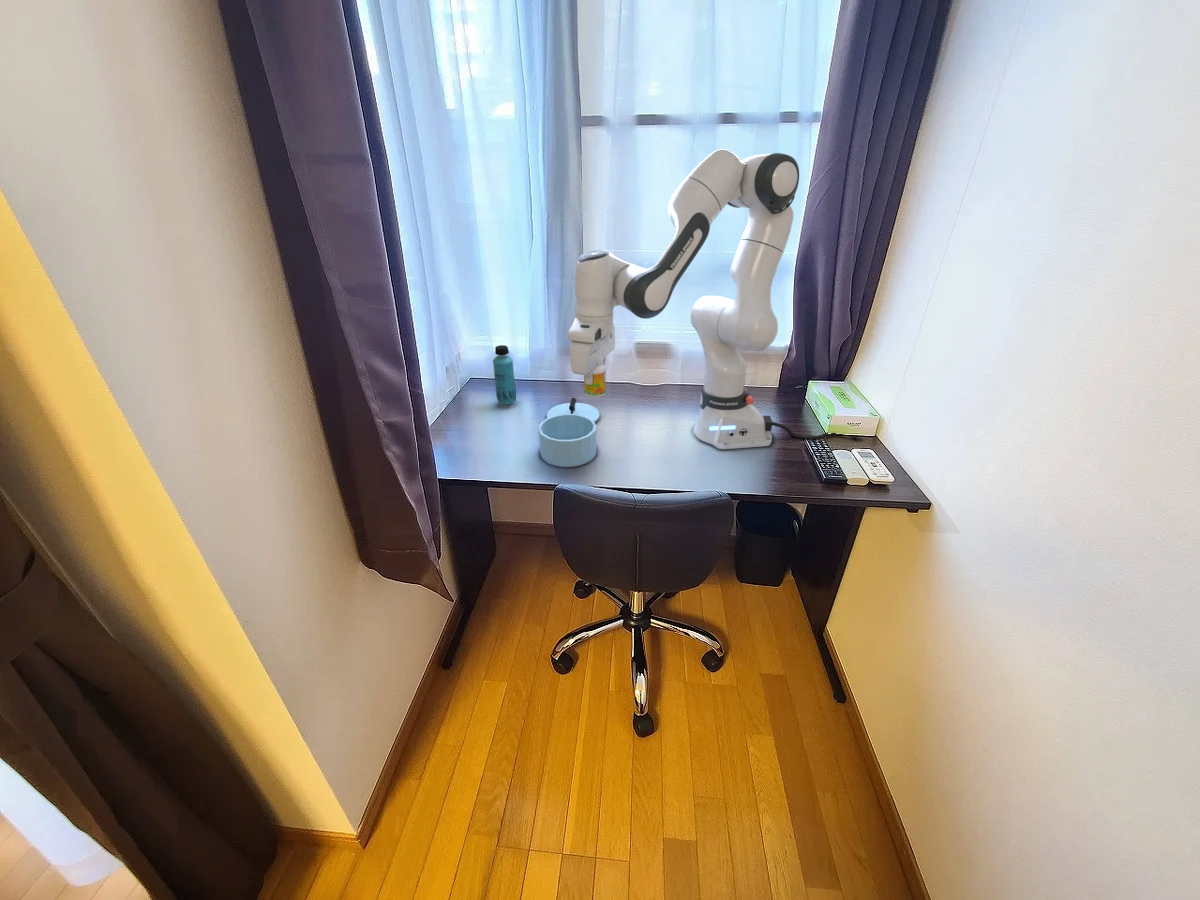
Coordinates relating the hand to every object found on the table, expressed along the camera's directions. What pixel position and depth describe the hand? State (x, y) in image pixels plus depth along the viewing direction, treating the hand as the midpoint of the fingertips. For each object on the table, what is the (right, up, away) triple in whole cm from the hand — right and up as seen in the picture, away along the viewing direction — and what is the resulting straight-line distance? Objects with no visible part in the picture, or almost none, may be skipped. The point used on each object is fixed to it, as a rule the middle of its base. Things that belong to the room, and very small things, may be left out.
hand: (594, 378), depth 126 cm
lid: (-7, -7, +33) cm, 34 cm away
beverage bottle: (-29, -3, +41) cm, 51 cm away
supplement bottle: (0, -4, +2) cm, 4 cm away
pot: (-7, -18, +15) cm, 25 cm away
